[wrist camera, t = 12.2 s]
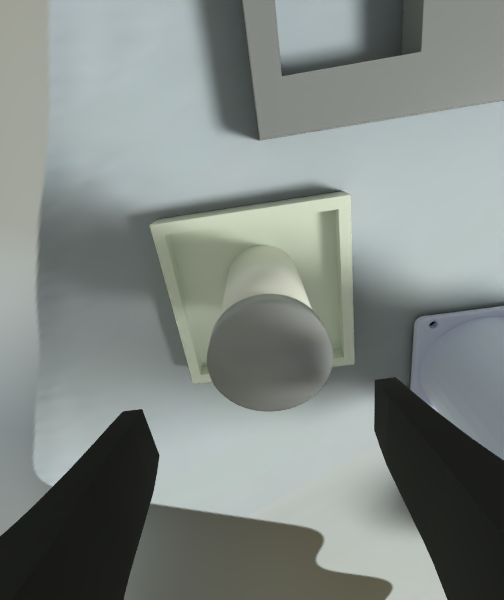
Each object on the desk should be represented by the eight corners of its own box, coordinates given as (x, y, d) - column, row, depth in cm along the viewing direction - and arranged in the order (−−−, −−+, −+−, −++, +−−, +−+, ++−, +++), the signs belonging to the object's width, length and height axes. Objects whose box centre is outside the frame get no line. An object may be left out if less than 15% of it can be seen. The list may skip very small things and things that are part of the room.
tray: (342, 191, 18) (350, 194, 16) (348, 350, 22) (354, 364, 20) (157, 219, 18) (149, 225, 17) (196, 369, 22) (193, 383, 21)
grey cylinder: (301, 238, 18) (335, 302, 11) (302, 312, 20) (331, 408, 13) (220, 244, 18) (198, 310, 11) (227, 316, 20) (214, 414, 13)
